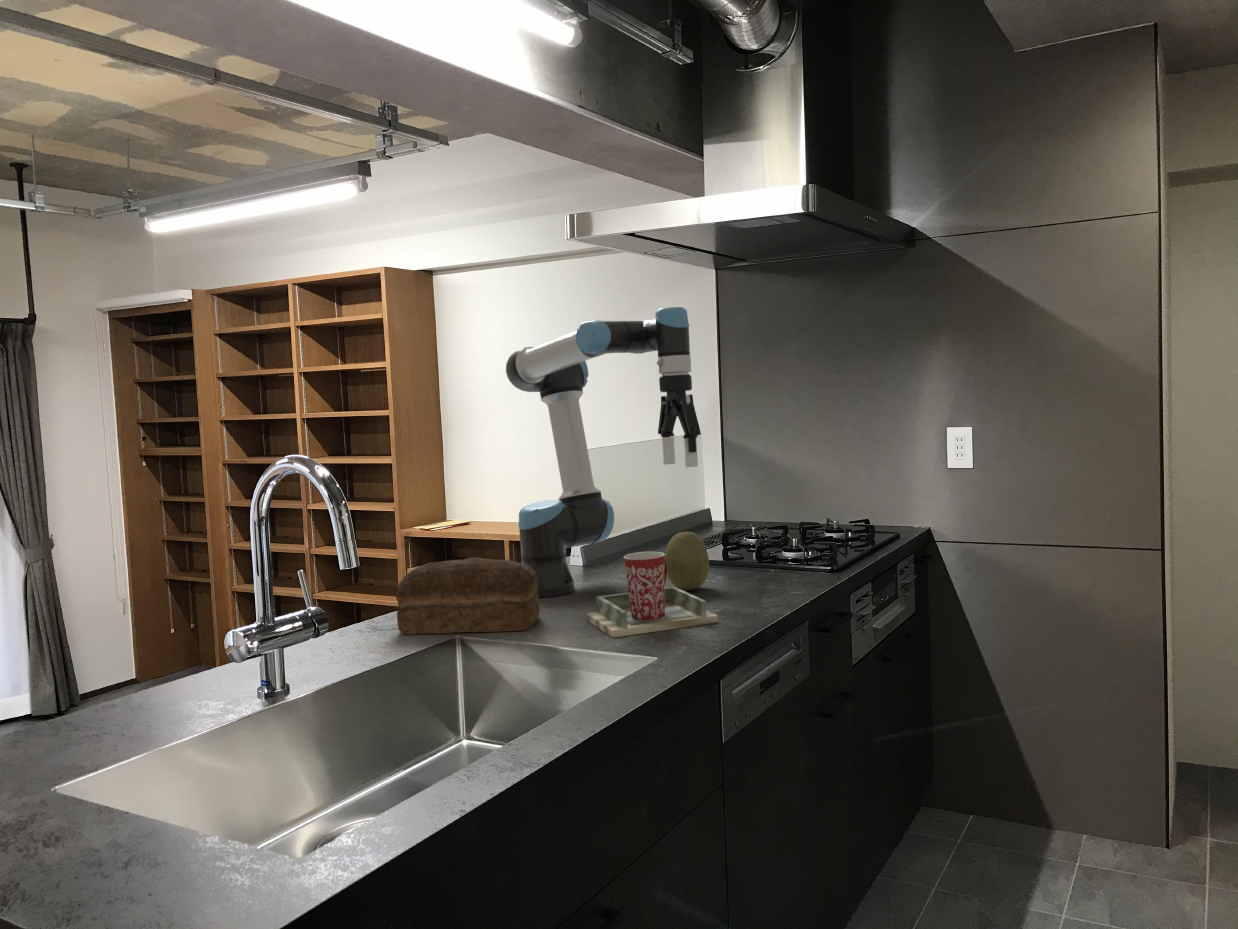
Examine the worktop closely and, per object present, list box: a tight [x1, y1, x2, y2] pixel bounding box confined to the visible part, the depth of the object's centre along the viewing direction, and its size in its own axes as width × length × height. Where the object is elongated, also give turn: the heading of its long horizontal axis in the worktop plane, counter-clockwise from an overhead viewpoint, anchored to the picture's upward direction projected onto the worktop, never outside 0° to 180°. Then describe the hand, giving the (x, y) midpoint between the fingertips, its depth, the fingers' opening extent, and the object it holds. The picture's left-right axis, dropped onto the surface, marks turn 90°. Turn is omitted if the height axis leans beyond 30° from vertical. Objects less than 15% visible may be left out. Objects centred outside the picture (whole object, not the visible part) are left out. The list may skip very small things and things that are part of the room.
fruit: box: [664, 531, 710, 592], centre depth 240 cm, size 11×11×15 cm
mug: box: [623, 551, 668, 620], centre depth 208 cm, size 13×9×14 cm
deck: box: [586, 586, 719, 638], centre depth 209 cm, size 18×24×5 cm
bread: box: [395, 557, 541, 635], centre depth 215 cm, size 15×32×16 cm, turn 84°
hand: (680, 465), depth 223 cm, fingers open, 13 cm apart
